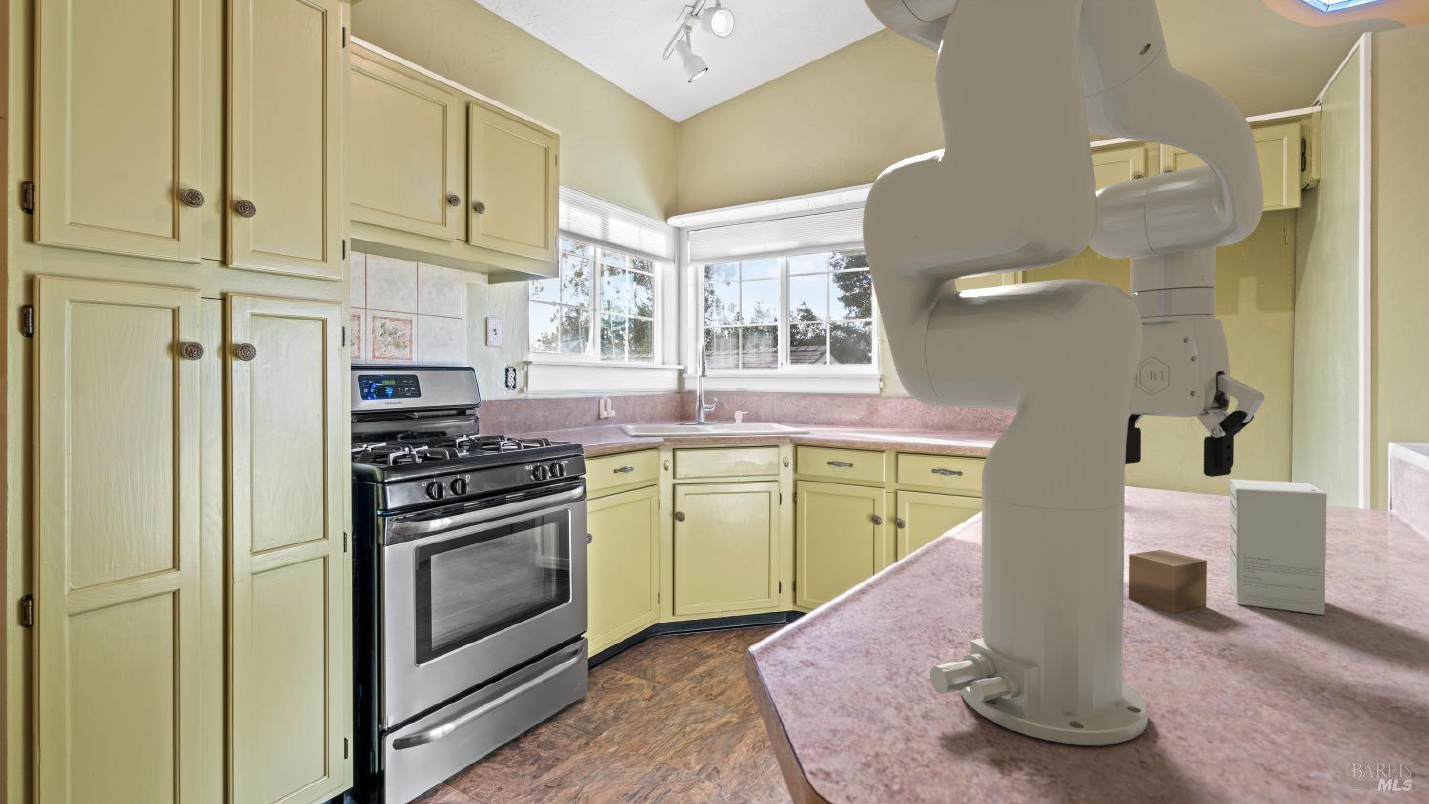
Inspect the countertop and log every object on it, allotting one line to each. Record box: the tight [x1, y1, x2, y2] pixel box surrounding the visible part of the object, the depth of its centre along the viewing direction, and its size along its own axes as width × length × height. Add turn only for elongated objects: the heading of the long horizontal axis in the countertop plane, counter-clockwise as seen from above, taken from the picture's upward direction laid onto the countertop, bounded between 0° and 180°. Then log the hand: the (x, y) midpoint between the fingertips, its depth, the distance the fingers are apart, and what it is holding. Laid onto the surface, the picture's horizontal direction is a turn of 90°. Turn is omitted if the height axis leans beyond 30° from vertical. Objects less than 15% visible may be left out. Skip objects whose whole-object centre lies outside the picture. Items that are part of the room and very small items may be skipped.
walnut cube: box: [1128, 549, 1208, 614], centre depth 73 cm, size 5×5×5 cm
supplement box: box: [1228, 478, 1328, 616], centre depth 74 cm, size 7×7×13 cm
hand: (1170, 468), depth 73 cm, fingers open, 9 cm apart
